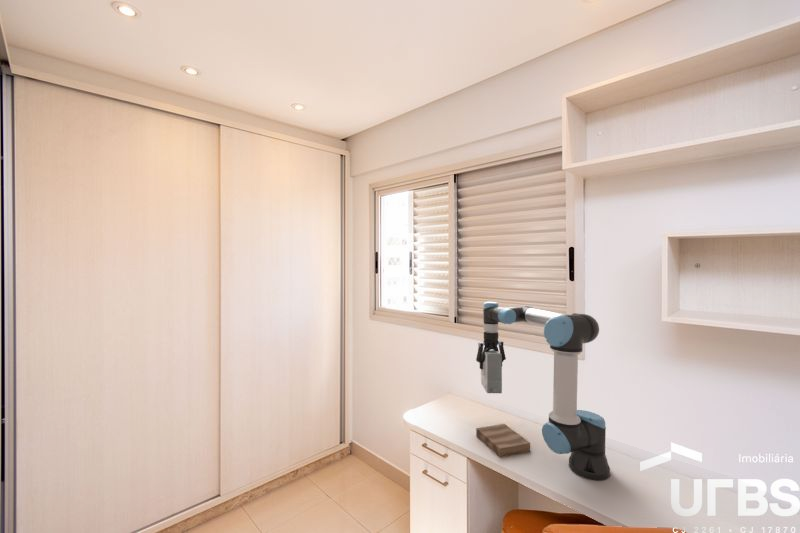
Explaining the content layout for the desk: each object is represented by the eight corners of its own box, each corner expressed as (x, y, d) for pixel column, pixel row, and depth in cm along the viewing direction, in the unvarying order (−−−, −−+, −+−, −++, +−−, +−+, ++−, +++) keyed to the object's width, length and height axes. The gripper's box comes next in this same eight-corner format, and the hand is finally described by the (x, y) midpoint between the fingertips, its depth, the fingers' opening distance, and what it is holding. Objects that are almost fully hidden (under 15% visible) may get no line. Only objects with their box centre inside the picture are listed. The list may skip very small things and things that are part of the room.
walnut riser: (530, 451, 160) (530, 442, 160) (499, 457, 155) (499, 448, 155) (504, 431, 179) (504, 423, 179) (476, 436, 174) (476, 428, 174)
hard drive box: (502, 394, 178) (502, 354, 178) (487, 394, 178) (486, 354, 178) (494, 383, 193) (494, 347, 193) (480, 383, 193) (480, 347, 193)
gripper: (504, 329, 192) (504, 370, 192) (468, 331, 186) (469, 374, 186) (512, 331, 185) (513, 374, 185) (476, 333, 178) (476, 378, 178)
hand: (491, 374), depth 185 cm, fingers closed on hard drive box, 9 cm apart
